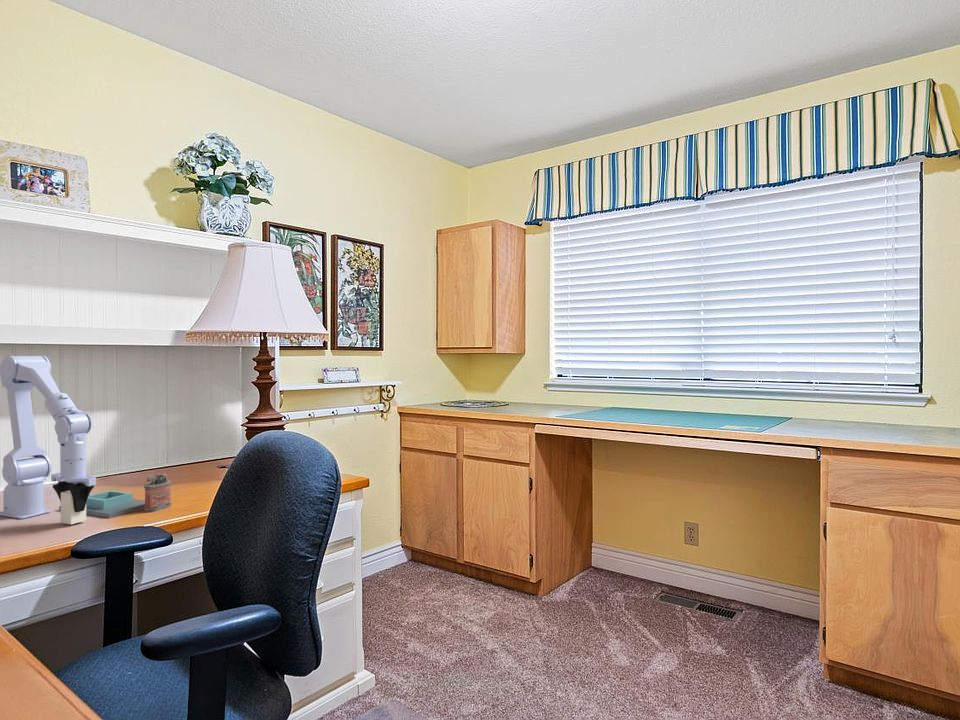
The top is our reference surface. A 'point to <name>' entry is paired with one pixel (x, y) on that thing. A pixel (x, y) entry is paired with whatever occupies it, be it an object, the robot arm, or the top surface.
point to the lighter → (157, 493)
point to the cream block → (70, 510)
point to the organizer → (112, 504)
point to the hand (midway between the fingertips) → (73, 510)
